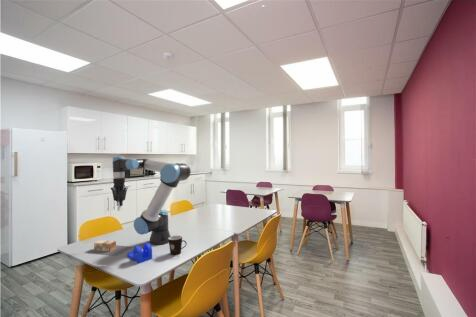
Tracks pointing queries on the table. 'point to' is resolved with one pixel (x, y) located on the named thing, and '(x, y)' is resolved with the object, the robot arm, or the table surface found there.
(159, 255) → the table surface
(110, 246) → the birch pillar
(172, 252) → the coffee mug
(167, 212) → the robot arm
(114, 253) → the charcoal mat
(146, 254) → the bracket
